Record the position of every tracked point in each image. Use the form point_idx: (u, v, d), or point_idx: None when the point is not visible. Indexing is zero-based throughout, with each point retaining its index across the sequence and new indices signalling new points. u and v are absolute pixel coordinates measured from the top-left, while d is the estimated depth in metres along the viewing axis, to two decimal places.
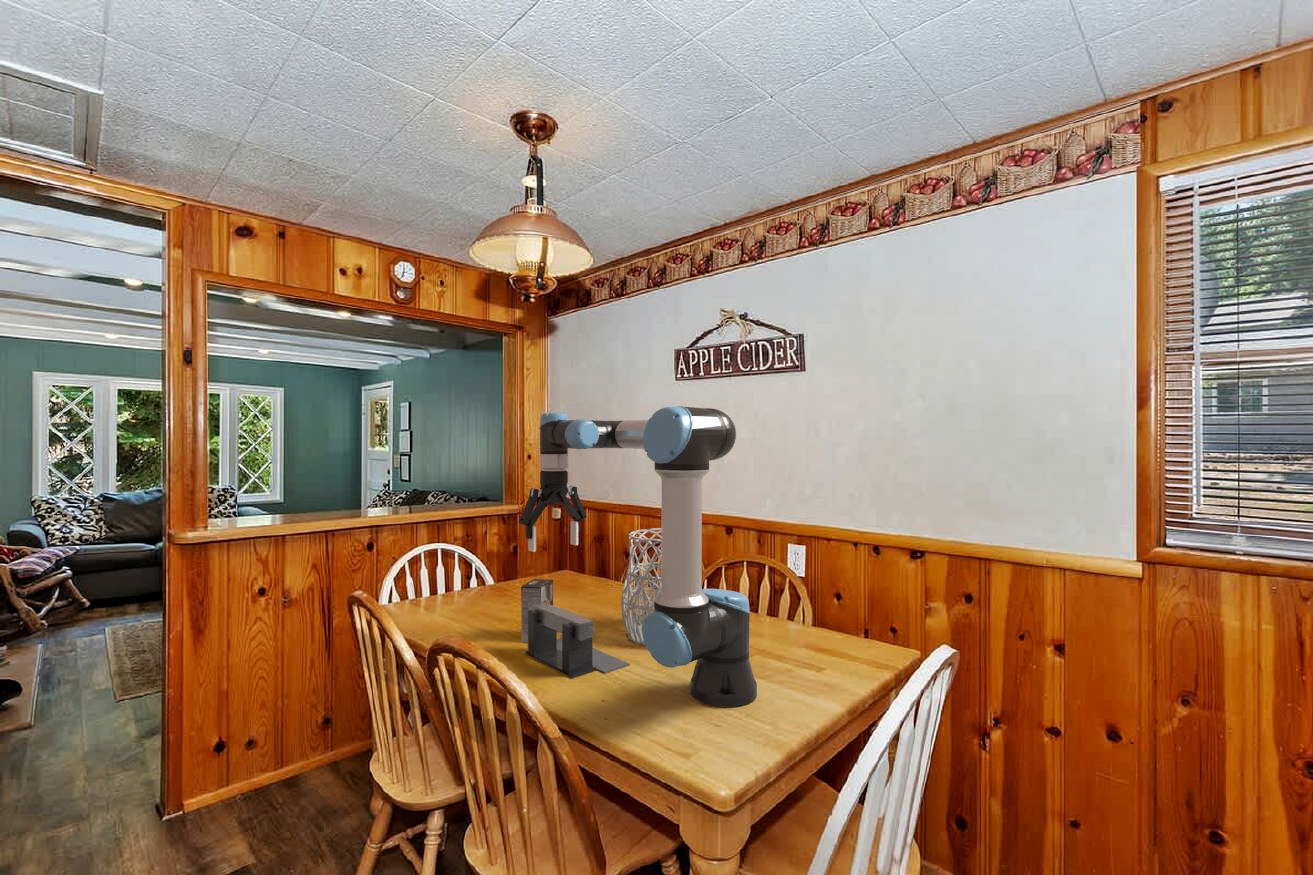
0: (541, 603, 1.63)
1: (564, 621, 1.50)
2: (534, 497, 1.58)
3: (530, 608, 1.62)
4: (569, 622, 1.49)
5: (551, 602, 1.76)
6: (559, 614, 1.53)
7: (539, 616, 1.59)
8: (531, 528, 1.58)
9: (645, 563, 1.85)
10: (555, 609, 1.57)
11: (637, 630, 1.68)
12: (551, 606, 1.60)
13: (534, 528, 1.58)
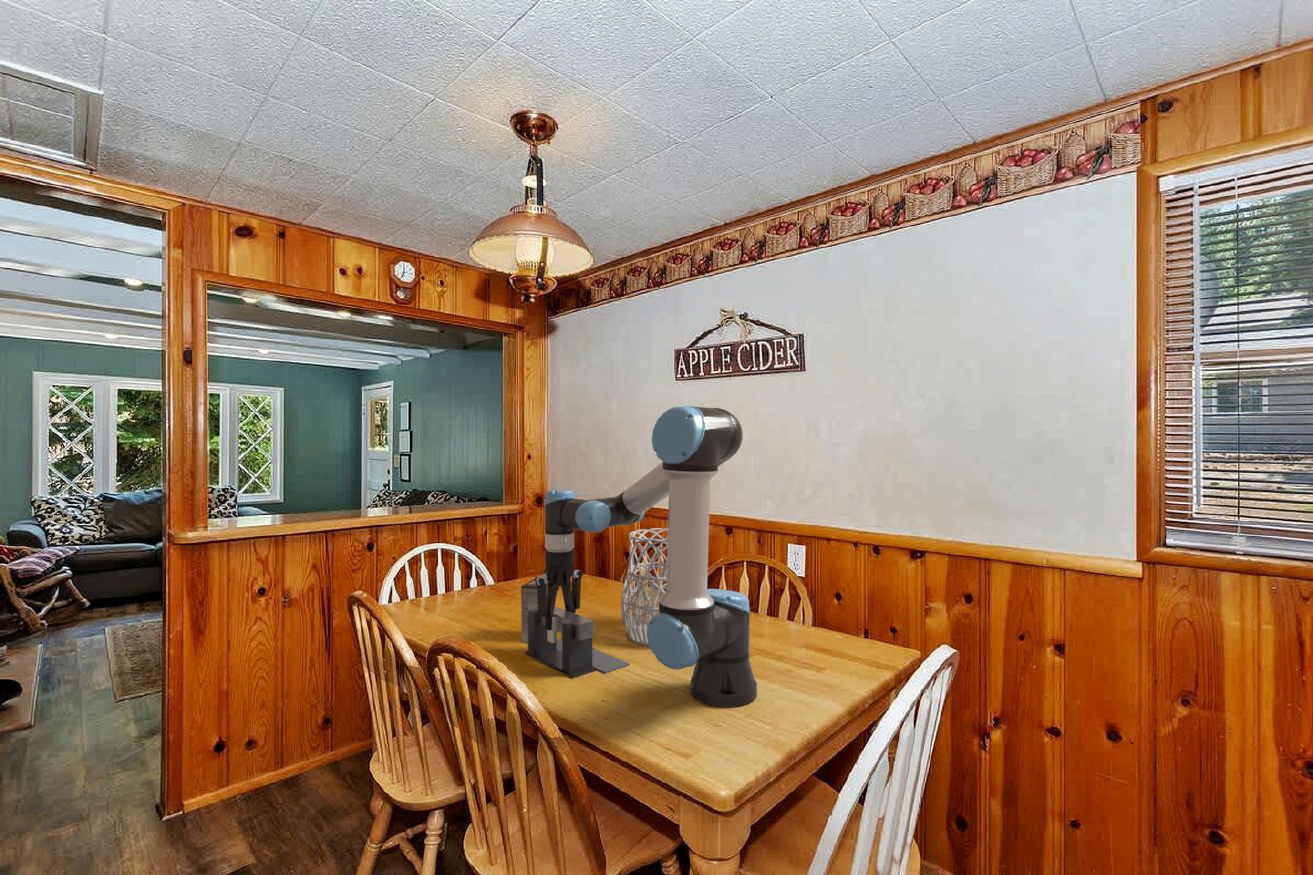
0: None
1: (564, 621, 1.50)
2: (542, 587, 1.51)
3: (530, 608, 1.62)
4: (569, 622, 1.49)
5: None
6: (559, 614, 1.53)
7: (539, 616, 1.59)
8: (551, 619, 1.53)
9: (645, 563, 1.85)
10: (555, 609, 1.57)
11: (637, 630, 1.68)
12: None
13: (554, 619, 1.53)
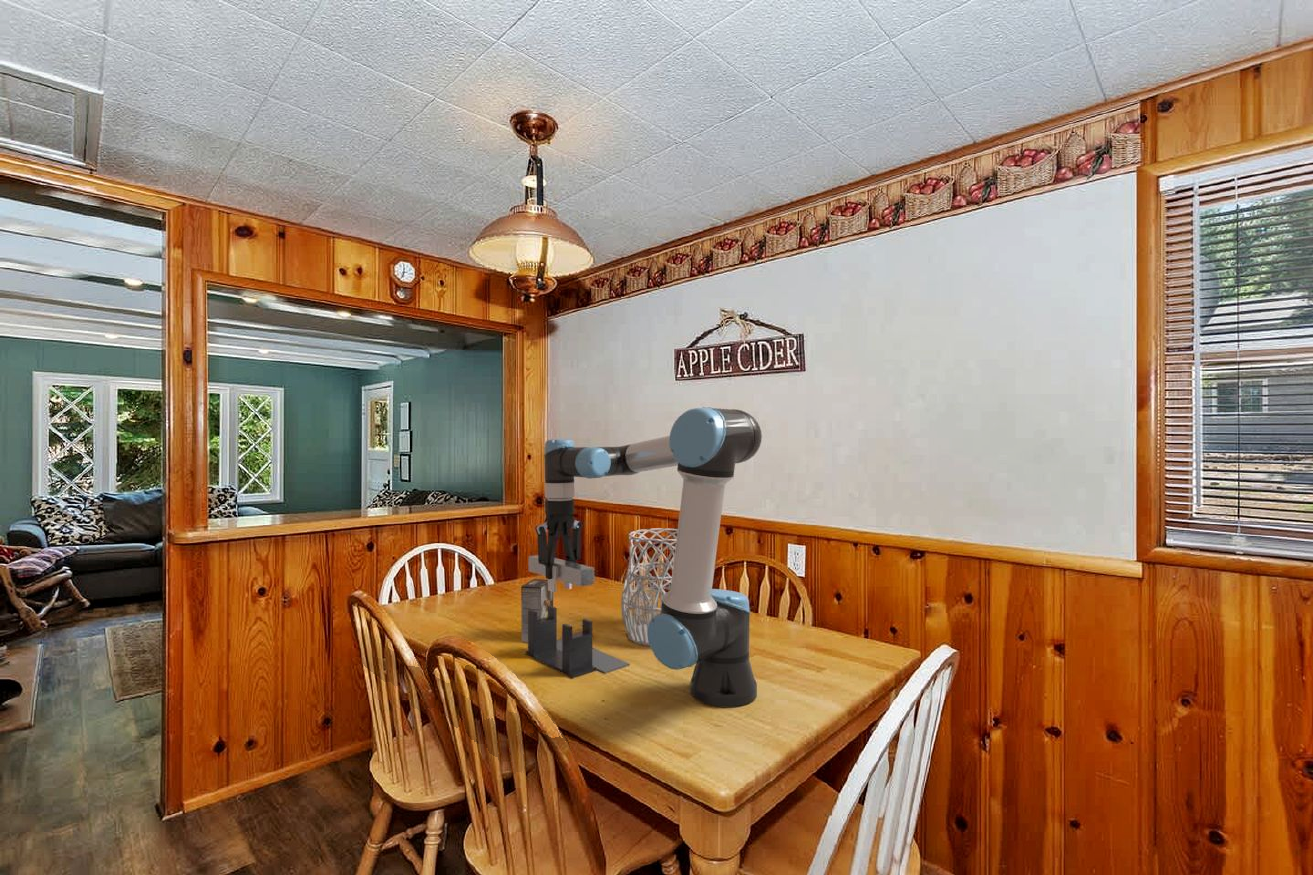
0: None
1: (564, 569, 1.50)
2: (542, 535, 1.51)
3: (530, 560, 1.62)
4: (570, 569, 1.48)
5: (551, 602, 1.76)
6: (560, 563, 1.53)
7: (539, 567, 1.59)
8: (551, 568, 1.53)
9: (645, 563, 1.85)
10: (556, 560, 1.57)
11: (637, 630, 1.68)
12: None
13: (554, 568, 1.53)
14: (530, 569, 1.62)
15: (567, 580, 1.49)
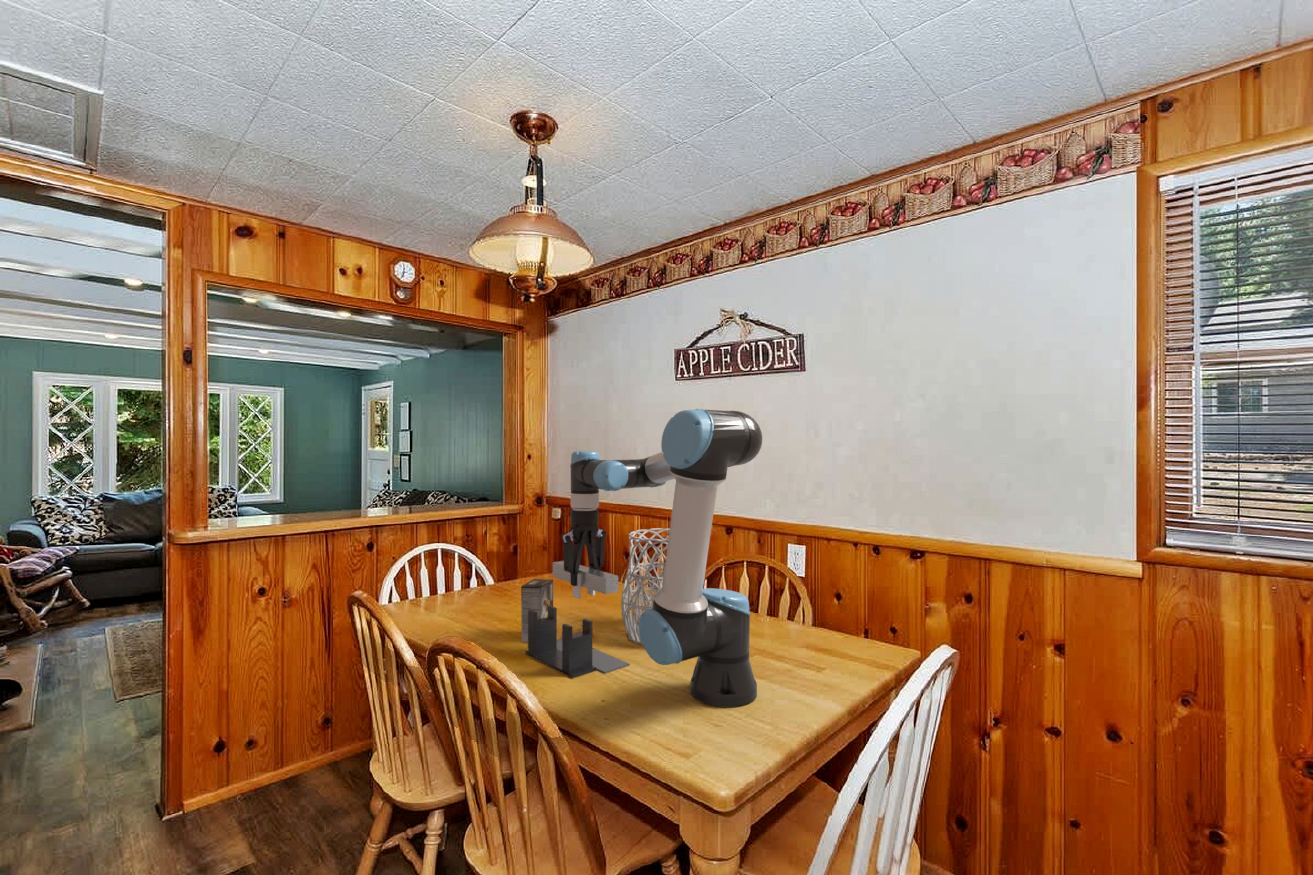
0: None
1: (589, 576, 1.56)
2: (568, 544, 1.56)
3: (555, 566, 1.68)
4: (595, 577, 1.54)
5: (551, 602, 1.76)
6: (584, 571, 1.58)
7: (563, 574, 1.65)
8: (576, 575, 1.59)
9: (645, 563, 1.85)
10: (580, 567, 1.63)
11: (637, 630, 1.68)
12: None
13: (579, 575, 1.58)
14: (554, 575, 1.68)
15: (592, 587, 1.55)
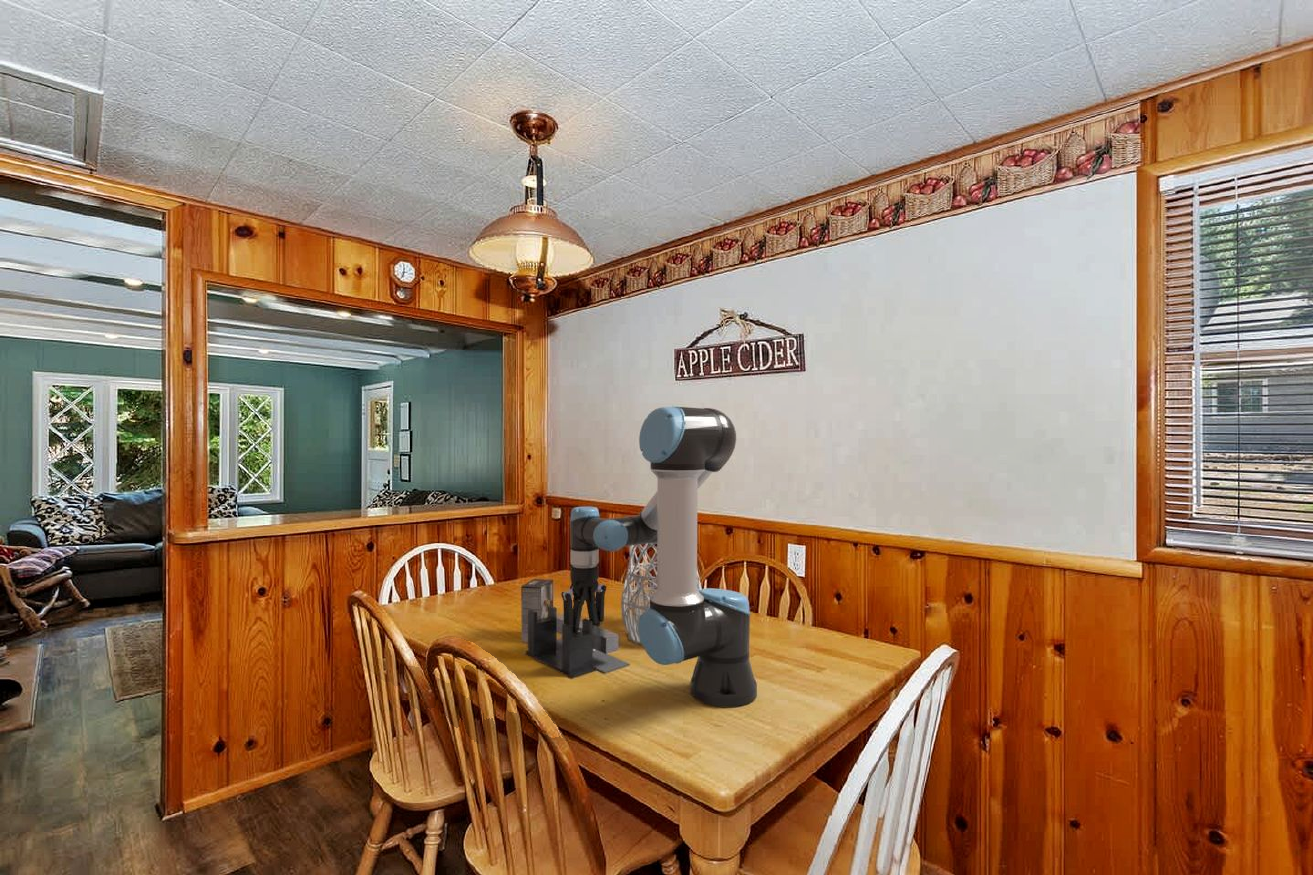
0: None
1: None
2: (568, 602, 1.56)
3: None
4: (595, 635, 1.54)
5: (551, 602, 1.76)
6: None
7: None
8: (576, 632, 1.58)
9: (645, 563, 1.85)
10: (580, 623, 1.63)
11: (637, 630, 1.68)
12: None
13: None
14: None
15: (592, 645, 1.55)
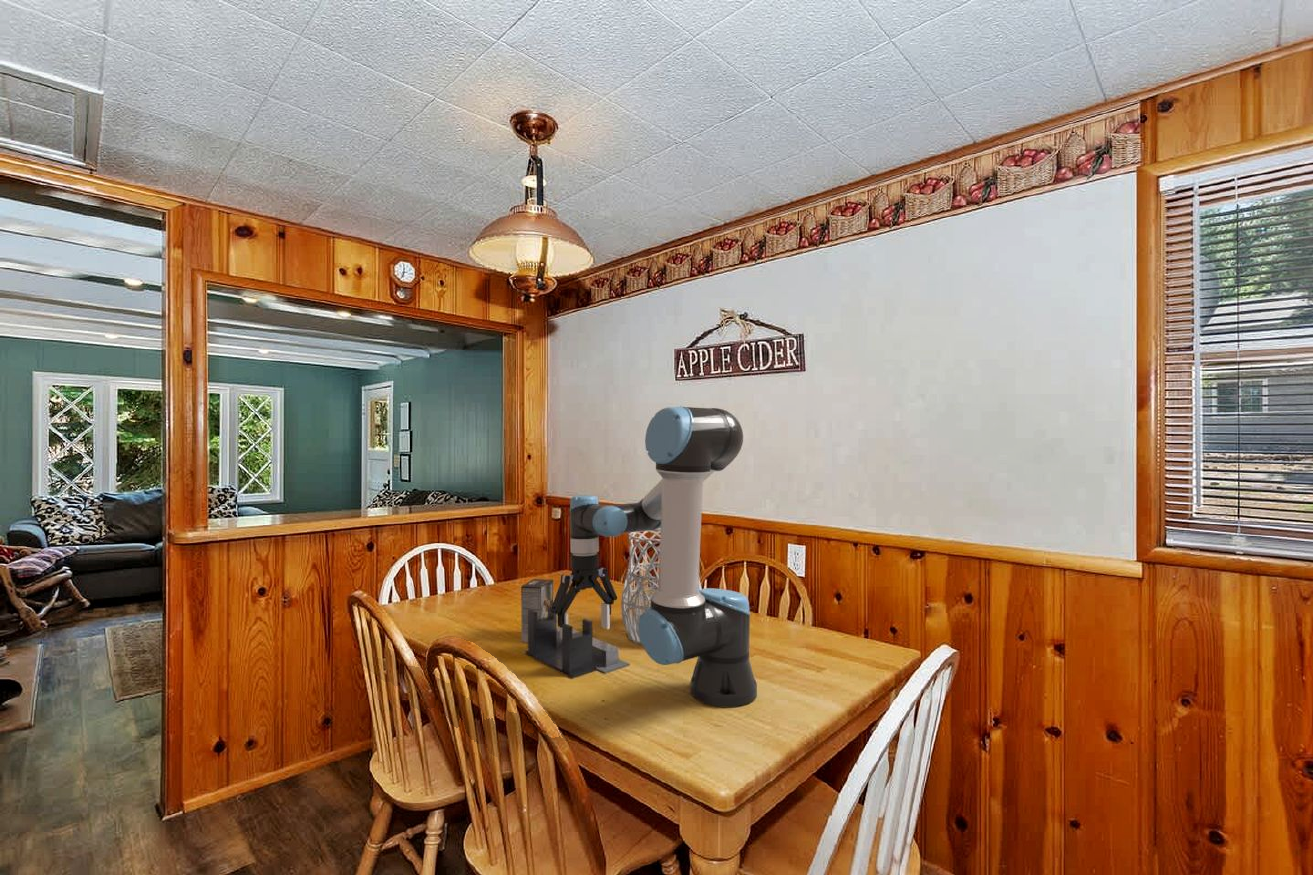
0: None
1: None
2: (566, 584, 1.55)
3: None
4: (595, 648, 1.54)
5: (551, 602, 1.76)
6: None
7: None
8: (563, 616, 1.55)
9: (645, 563, 1.85)
10: None
11: (637, 630, 1.68)
12: (575, 631, 1.66)
13: (566, 616, 1.55)
14: None
15: (592, 659, 1.55)
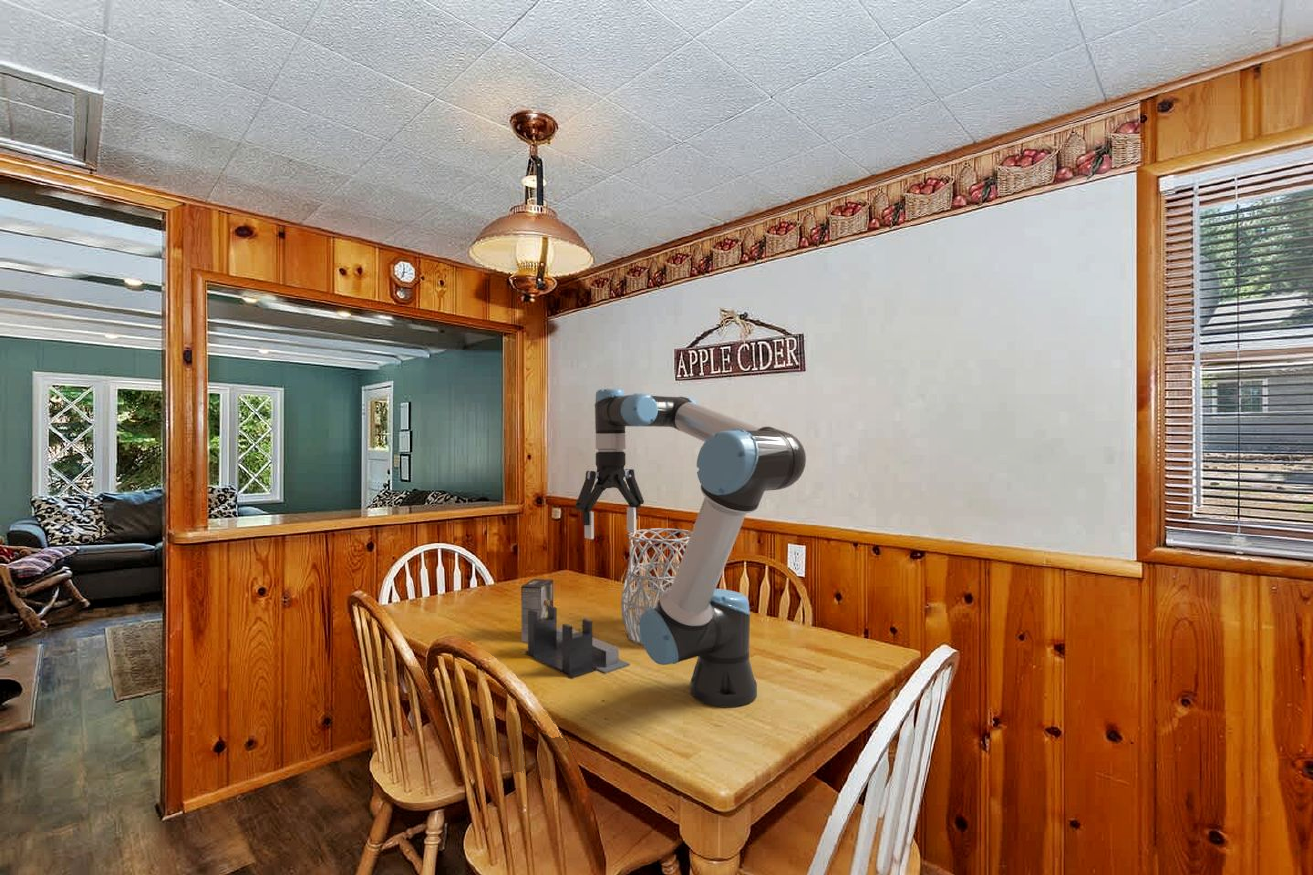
0: None
1: None
2: (591, 480, 1.46)
3: None
4: (595, 648, 1.54)
5: (551, 602, 1.76)
6: None
7: None
8: (588, 513, 1.46)
9: (645, 563, 1.85)
10: None
11: (637, 630, 1.68)
12: (575, 631, 1.66)
13: (592, 513, 1.45)
14: None
15: (592, 659, 1.55)
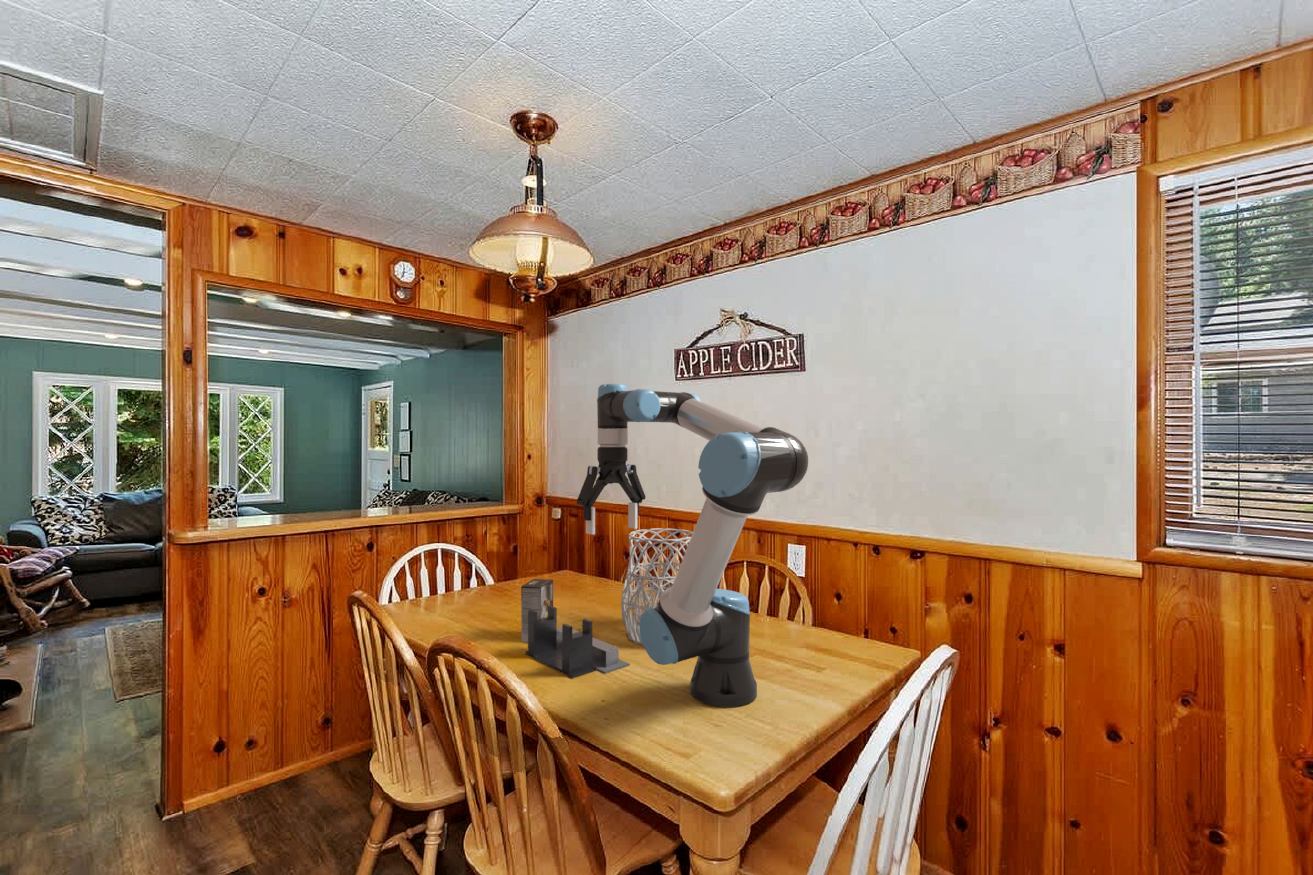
0: None
1: None
2: (593, 475, 1.45)
3: None
4: (595, 648, 1.54)
5: (551, 602, 1.76)
6: None
7: None
8: (590, 509, 1.45)
9: (645, 563, 1.85)
10: None
11: (637, 630, 1.68)
12: (575, 631, 1.66)
13: (593, 509, 1.45)
14: None
15: (592, 659, 1.55)
